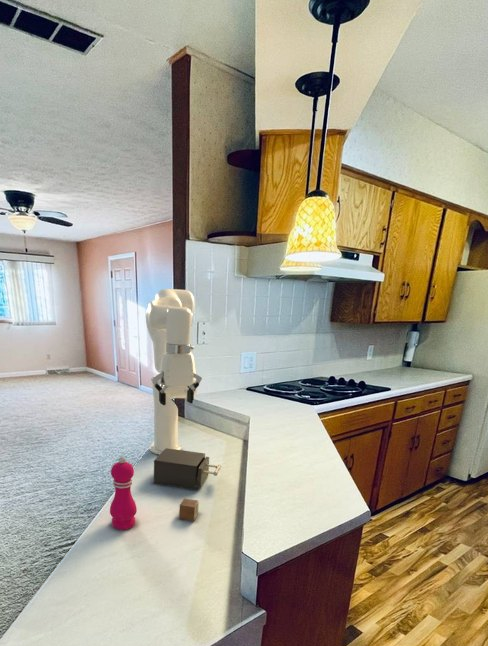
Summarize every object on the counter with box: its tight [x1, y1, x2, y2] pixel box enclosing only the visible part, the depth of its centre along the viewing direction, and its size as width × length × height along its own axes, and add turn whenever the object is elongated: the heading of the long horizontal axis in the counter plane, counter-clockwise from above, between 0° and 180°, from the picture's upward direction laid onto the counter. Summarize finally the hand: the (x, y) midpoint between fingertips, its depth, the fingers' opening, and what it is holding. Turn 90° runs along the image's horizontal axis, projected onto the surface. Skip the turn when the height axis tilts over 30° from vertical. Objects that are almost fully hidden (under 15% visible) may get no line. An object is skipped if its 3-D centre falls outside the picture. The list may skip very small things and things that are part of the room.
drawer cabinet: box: [153, 448, 206, 491], centre depth 142 cm, size 15×13×9 cm
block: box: [178, 498, 200, 522], centre depth 119 cm, size 4×4×4 cm
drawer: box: [196, 456, 222, 488], centre depth 141 cm, size 18×11×7 cm, turn 77°
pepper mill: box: [109, 456, 138, 531], centre depth 110 cm, size 7×7×20 cm
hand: (176, 403), depth 135 cm, fingers open, 9 cm apart
